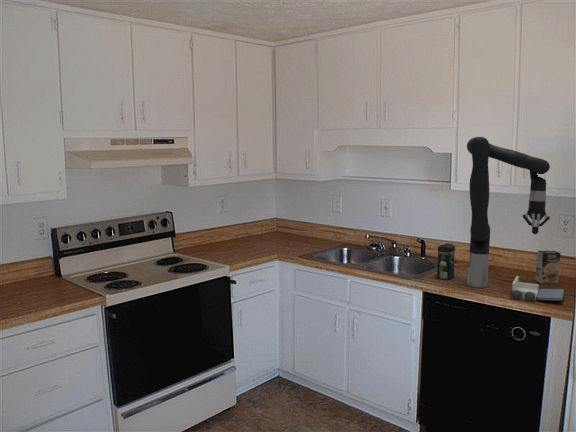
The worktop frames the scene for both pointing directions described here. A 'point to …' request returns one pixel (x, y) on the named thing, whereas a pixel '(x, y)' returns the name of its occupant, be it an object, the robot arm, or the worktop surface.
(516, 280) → the cart
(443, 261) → the coffee jar
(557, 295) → the tailgate
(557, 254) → the coffee box
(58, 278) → the worktop surface
